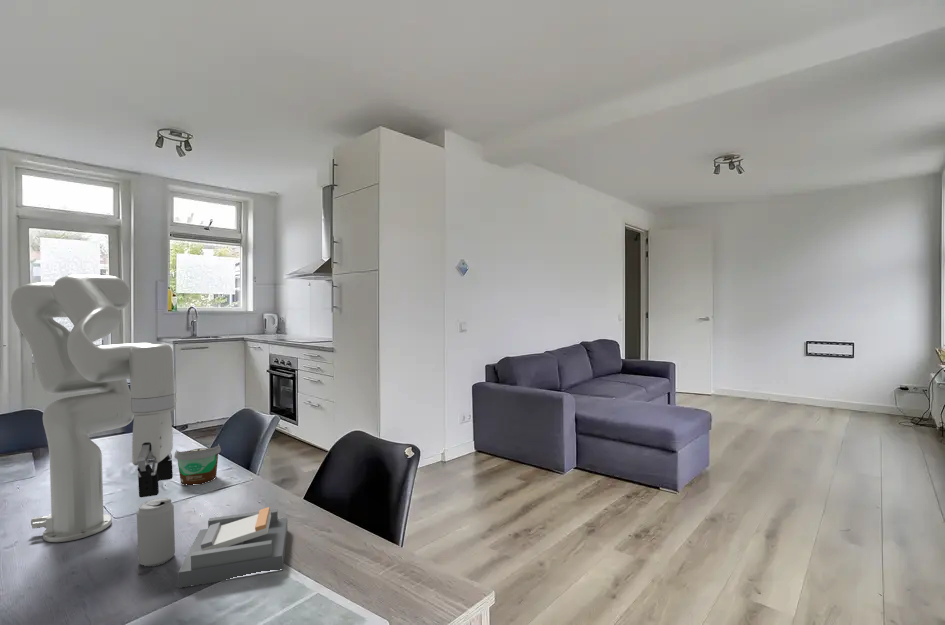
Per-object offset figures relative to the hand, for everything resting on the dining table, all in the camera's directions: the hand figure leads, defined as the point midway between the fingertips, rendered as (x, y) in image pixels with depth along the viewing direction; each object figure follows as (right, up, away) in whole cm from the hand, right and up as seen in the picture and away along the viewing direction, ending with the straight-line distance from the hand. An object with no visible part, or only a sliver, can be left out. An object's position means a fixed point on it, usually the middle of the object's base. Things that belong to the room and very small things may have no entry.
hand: (156, 487), depth 100 cm
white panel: (+16, -10, +2) cm, 19 cm away
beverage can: (0, -16, +1) cm, 16 cm away
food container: (-17, -15, +45) cm, 50 cm away
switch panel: (+16, -15, +2) cm, 22 cm away
